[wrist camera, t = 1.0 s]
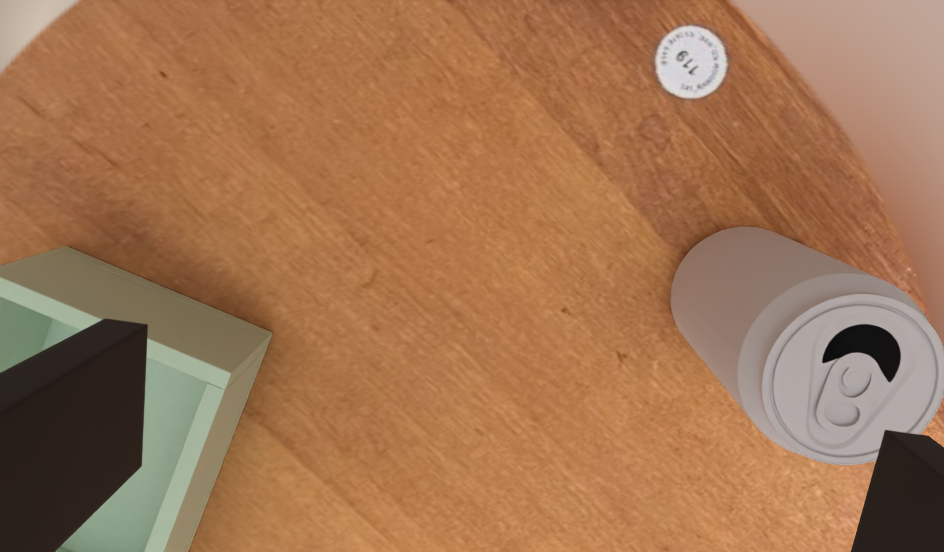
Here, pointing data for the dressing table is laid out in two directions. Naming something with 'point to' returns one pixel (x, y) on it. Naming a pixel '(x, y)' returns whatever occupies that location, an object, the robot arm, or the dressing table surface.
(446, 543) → the dressing table surface
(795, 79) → the dressing table surface
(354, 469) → the dressing table surface
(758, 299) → the beverage can
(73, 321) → the bin
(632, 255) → the dressing table surface
